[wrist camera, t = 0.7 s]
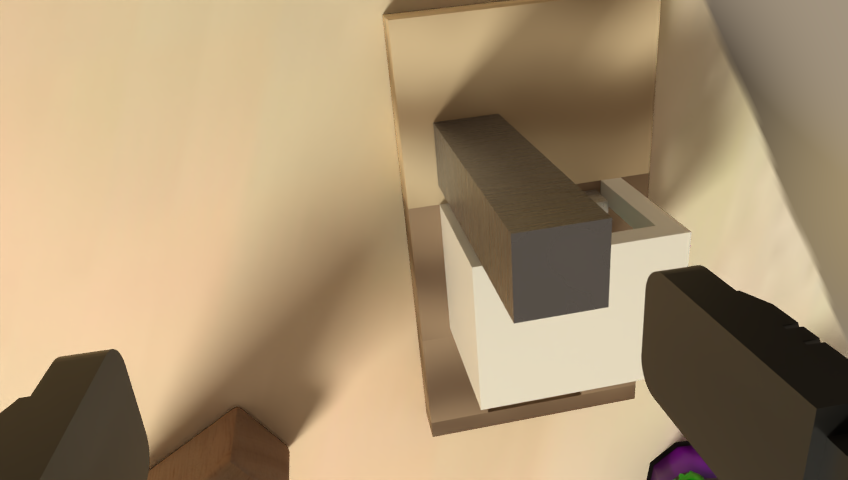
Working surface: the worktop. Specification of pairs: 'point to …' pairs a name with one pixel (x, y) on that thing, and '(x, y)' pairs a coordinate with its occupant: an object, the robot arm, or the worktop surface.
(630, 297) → the cream open box
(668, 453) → the potion bottle
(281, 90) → the worktop surface
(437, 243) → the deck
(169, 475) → the wooden block
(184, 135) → the worktop surface
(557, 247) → the grey angular piece
